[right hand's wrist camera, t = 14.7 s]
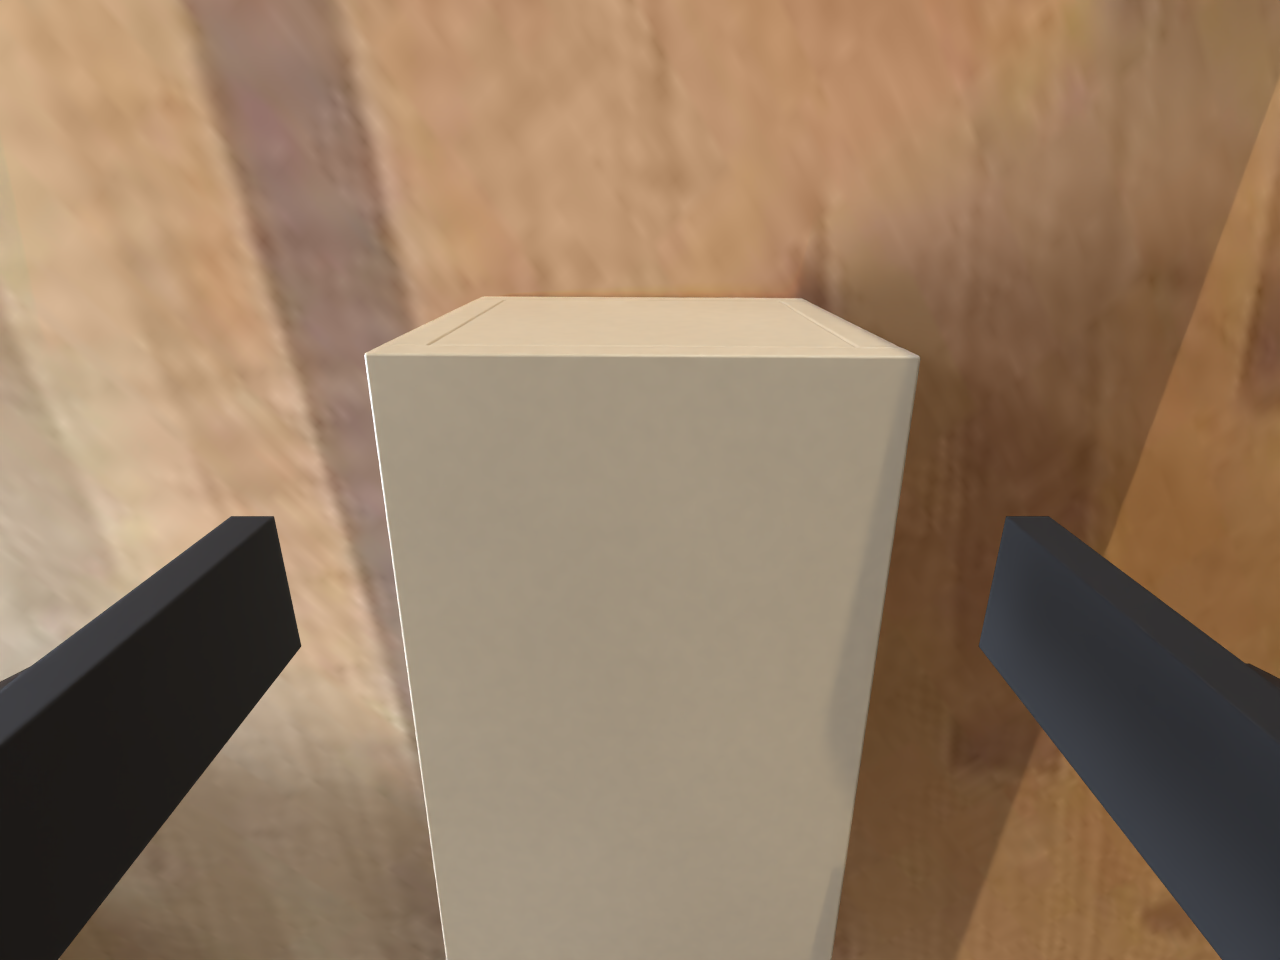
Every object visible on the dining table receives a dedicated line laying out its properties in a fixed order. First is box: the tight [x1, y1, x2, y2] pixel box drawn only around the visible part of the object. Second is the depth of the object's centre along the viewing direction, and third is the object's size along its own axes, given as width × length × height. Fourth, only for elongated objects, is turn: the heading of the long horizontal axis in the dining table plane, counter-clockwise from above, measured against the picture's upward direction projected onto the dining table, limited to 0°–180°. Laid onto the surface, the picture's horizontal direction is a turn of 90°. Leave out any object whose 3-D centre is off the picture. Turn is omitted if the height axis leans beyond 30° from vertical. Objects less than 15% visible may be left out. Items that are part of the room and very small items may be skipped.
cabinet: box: [365, 297, 920, 960], centre depth 23 cm, size 20×11×11 cm, turn 0°
